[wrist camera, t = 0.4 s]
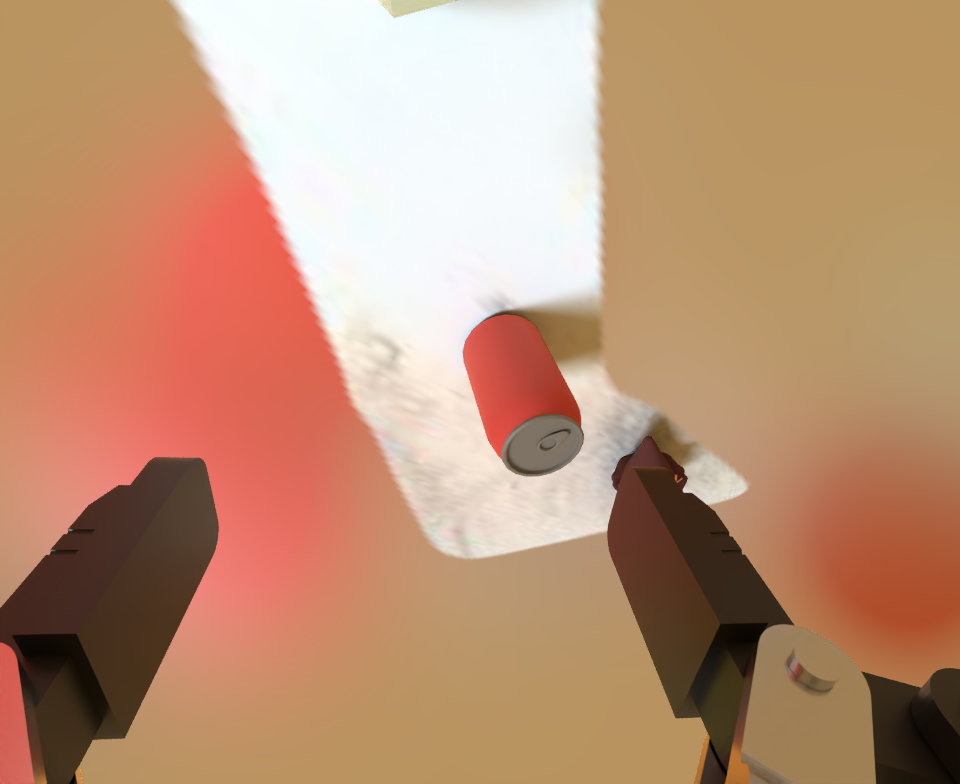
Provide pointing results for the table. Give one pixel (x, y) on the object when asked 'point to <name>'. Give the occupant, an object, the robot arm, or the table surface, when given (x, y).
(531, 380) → the beer can
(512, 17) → the table surface
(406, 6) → the sage block
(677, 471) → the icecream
